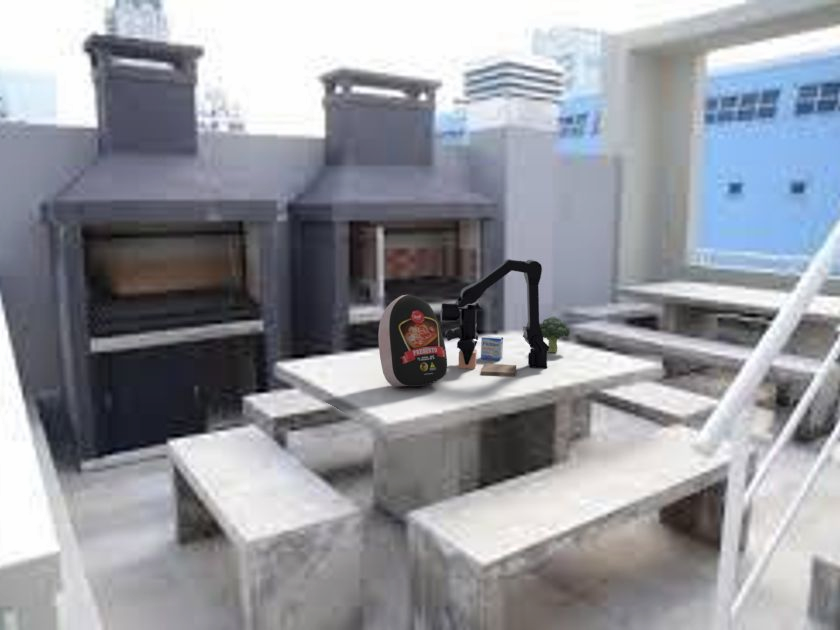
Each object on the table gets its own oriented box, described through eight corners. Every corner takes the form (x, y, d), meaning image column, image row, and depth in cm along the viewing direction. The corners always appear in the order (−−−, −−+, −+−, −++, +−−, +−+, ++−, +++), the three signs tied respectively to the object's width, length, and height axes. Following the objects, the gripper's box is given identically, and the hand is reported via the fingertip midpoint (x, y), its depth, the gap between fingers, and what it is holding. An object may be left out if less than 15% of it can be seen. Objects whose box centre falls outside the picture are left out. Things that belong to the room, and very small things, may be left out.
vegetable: (535, 348, 286) (536, 313, 284) (566, 349, 286) (567, 314, 283) (539, 355, 274) (540, 318, 272) (571, 356, 274) (572, 319, 271)
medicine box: (480, 359, 268) (481, 337, 266) (482, 356, 272) (483, 335, 270) (500, 360, 265) (501, 338, 264) (502, 358, 269) (503, 336, 268)
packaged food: (401, 396, 215) (401, 302, 210) (368, 383, 231) (367, 295, 226) (455, 386, 228) (456, 297, 223) (420, 374, 244) (421, 290, 239)
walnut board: (516, 368, 253) (516, 365, 253) (515, 376, 242) (515, 373, 241) (483, 366, 255) (483, 363, 255) (481, 374, 244) (481, 371, 243)
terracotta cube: (476, 365, 258) (476, 349, 257) (474, 368, 252) (475, 352, 251) (460, 364, 259) (460, 348, 258) (458, 368, 253) (458, 352, 252)
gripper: (449, 316, 263) (449, 356, 265) (443, 324, 245) (442, 367, 247) (478, 317, 261) (477, 357, 264) (474, 326, 243) (473, 368, 245)
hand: (467, 362), depth 255 cm, fingers closed on terracotta cube, 6 cm apart
